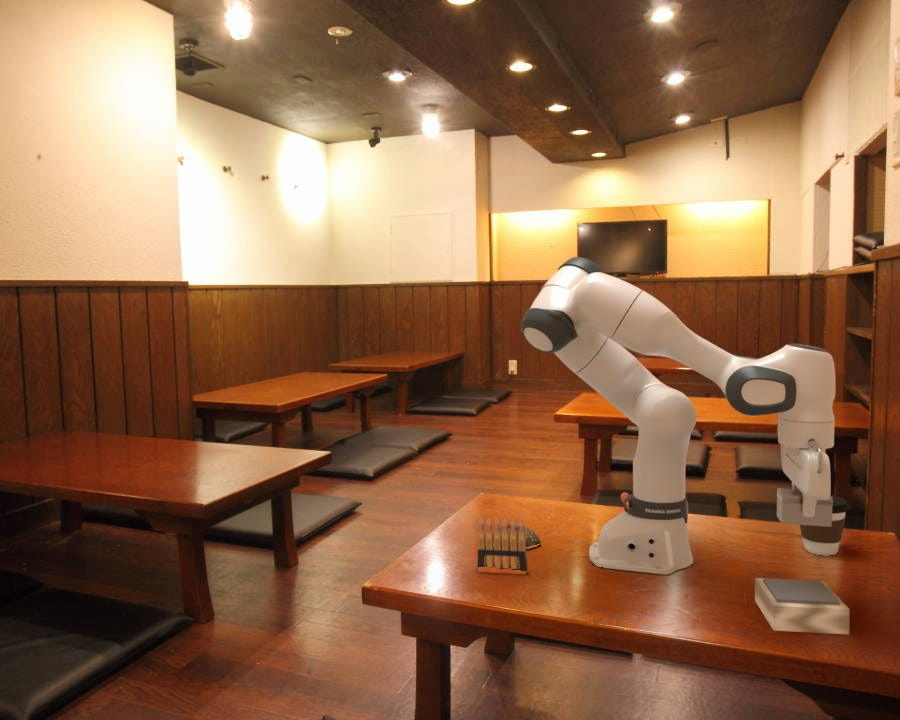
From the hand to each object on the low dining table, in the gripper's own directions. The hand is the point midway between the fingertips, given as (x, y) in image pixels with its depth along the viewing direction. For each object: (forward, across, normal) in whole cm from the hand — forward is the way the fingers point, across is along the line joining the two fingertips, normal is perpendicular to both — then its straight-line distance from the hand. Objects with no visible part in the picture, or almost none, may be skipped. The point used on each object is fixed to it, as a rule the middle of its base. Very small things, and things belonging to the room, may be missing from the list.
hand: (803, 510), depth 122 cm
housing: (+2, 0, 0) cm, 2 cm away
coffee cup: (+19, +34, -11) cm, 40 cm away
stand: (+19, -2, +1) cm, 19 cm away
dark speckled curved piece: (+20, +26, +58) cm, 67 cm away
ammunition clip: (+20, +8, +57) cm, 61 cm away
